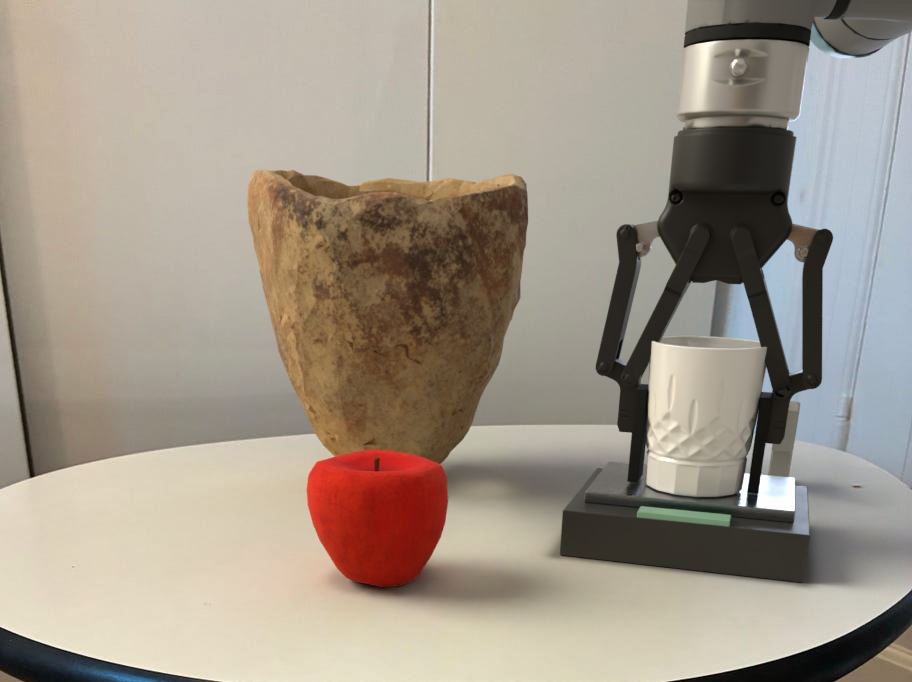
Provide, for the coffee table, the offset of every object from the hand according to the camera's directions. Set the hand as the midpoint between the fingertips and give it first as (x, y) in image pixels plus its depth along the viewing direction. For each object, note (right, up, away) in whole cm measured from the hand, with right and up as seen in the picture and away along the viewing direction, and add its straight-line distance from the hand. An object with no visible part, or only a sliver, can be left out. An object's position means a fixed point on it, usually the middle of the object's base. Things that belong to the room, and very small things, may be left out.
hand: (693, 482), depth 73 cm
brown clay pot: (-23, +3, +18) cm, 29 cm away
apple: (-22, -7, -7) cm, 24 cm away
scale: (0, -4, +2) cm, 4 cm away
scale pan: (0, -1, +1) cm, 1 cm away
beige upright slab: (+12, +2, +17) cm, 20 cm away
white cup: (0, 0, 0) cm, 0 cm away
